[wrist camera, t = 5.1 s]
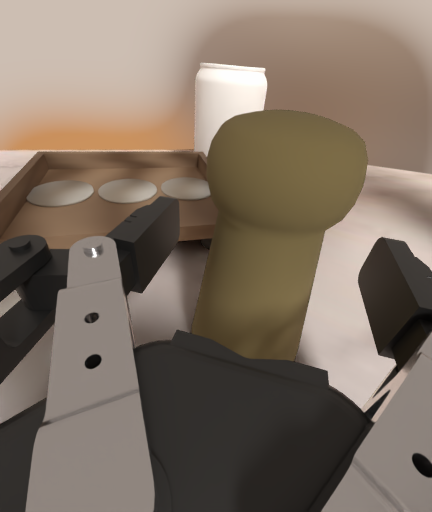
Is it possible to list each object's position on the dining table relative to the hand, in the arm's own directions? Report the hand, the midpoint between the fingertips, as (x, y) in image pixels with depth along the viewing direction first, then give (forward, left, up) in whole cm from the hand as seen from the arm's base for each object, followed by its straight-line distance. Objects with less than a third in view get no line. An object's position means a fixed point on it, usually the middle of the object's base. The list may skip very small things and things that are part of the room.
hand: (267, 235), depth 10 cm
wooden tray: (+6, -14, -7) cm, 16 cm away
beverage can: (-6, -25, -7) cm, 27 cm away
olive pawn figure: (0, 0, -7) cm, 7 cm away
